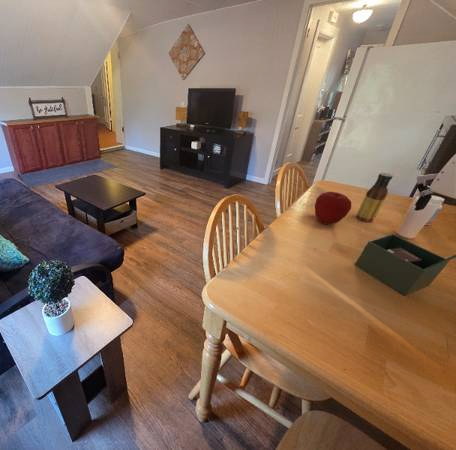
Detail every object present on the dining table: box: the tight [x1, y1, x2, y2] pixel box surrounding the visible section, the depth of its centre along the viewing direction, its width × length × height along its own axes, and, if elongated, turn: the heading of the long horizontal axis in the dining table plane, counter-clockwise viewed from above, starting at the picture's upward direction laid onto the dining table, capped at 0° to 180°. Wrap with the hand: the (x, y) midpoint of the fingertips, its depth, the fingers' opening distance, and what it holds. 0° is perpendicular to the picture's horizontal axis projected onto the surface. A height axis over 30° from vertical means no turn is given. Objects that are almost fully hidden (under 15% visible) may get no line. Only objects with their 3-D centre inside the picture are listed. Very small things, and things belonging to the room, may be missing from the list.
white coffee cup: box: [396, 195, 442, 240], centre depth 90 cm, size 7×7×15 cm
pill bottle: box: [424, 195, 445, 226], centre depth 99 cm, size 6×6×11 cm
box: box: [387, 248, 422, 266], centre depth 73 cm, size 6×6×7 cm
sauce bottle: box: [356, 172, 393, 223], centre depth 99 cm, size 7×6×20 cm
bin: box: [354, 233, 450, 297], centre depth 72 cm, size 14×12×9 cm
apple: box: [314, 191, 352, 225], centre depth 98 cm, size 12×12×13 cm
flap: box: [426, 254, 456, 269], centre depth 61 cm, size 7×12×1 cm
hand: (441, 217), depth 62 cm, fingers open, 9 cm apart
